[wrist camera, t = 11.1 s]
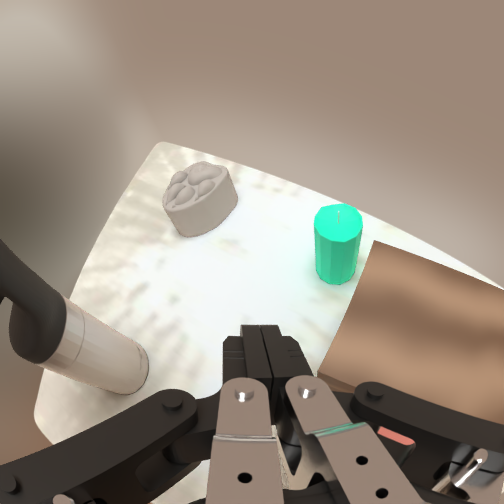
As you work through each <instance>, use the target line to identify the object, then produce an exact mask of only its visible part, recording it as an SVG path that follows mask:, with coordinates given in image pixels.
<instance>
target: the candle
mask: <svg viewBox="0 0 504 504" xmlns="http://www.w3.org/2000/svg"><path fill="white" fill-rule="evenodd" d="M362 228H363V222H362V216H361V215H360V213H359V212H358V211H357V209H356V208H354V207H352V206H350V205H347V204H345V203H344V204H335V205H329V206H325V207H321V209H320V210H319V211H318V213H317V214H316V216H315V220H314V234H315V254H316V271H317V273H318V275H319V277H320V278H321V279H322V280H324V281H325V282H327V283H329V284H342V283H344V282H346V281H348V280H350V278H351V277H352V275H353V274H354V272H355V268H356V262H357V257H358V252H359V246H360V240H361V234H362Z"/></svg>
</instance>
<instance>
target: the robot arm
mask: <svg viewBox="0 0 504 504" xmlns="http://www.w3.org/2000/svg"><path fill="white" fill-rule="evenodd" d="M4 297H7V298H9V299H10V300H11V301H12V302H13V306H12V311H11V316H10V323H9V336H10V342H11V345H12V347H13V349H14V351H15V352H16V353H17V354H18V355H19V356H20V357H22V358H24V359H26V360H28V361H30V362H32V363H34V364H36V365H39V366H41V367H43V368H46V369H48V370H50V371H53V372H56V373H58V374H61V375H63V376H66V377H69V378H71V379H74V380H77V381H80V382H83V383H86V384H89V385H92V386H95V387H98V388H102V389H105V390H108V391H112V392H115V393H119V394H125V395H127V394H132V393H134V392H136V391H137V390H138V389H139V388H140V387H141V386H142V385H143V383H144V381H145V379H146V377H147V373H148V359H147V355H146V353H145V351H144V349H143V348H142V347H141V346H140V345H139V344H138V343H136V342H134V341H133V340H131V339H129V338H127V337H126V336H124V335H122V334H121V333H119V332H117V331H116V330H114V329H112V328H111V327H109V326H107V325H106V324H104V323H103V322H101V321H99V320H98V319H96V318H95V317H93V316H92V315H90V314H89V313H87V312H86V311H84V310H83V309H81V308H80V307H78V306H77V305H75V304H74V303H72V302H71V301H69V300H68V299H67V298H65V297H64V296H63V295H61V294H60V293H59V292H57V291H56V290H55V289H53V288H52V287H51V286H50V285H48V284H47V283H46V282H45V281H44V280H43V279H42V278H40V277H39V276H38V275H37V274H36V273H35V272H34V271H32V270H31V269H30V268H29V267H28V266H27V265H25V264H24V263H23V262H22V261H21V260H20V259H19V258H18V257H17V256H16V255H15V254H14V253H13V252H12V251H11V250H10V249H9V248H8V247H7V245H6V244H5V243H4V242H3V241H2V240H1V239H0V304H1V302H2V300H3V299H4ZM271 425H276V429H277V433H276V438H275V437H272V430H271ZM380 427H384V428H386V429H388V430H391V431H393V432H395V433H398V434H400V435H403V436H405V437H408V438H410V439H412V440H413V441H414V443H413V444H411V445H405V444H402V443H399V442H397V441H395V440H392V439H390V438H387V437H385V436H383V435H381V434H378V431H379V429H380ZM278 451H279V454H280V457H281V460H282V463H283V466H284V469H285V472H286V475H287V478H288V482H289V490H288V489H282V481H281V472H280V464H279V455H278ZM208 459H210V468H209V477H208V486H207V495H206V498H203V499H199V500H197V501H194V502H191V503H189V504H498V503H499V499H500V495H501V491H502V487H503V482H504V425H503V424H499V423H496V422H492V421H488V420H485V419H481V418H478V417H475V416H471V415H468V414H465V413H462V412H459V411H455V410H452V409H449V408H446V407H443V406H441V405H438V404H435V403H432V402H429V401H426V400H424V399H421V398H418V397H416V396H413V395H410V394H408V393H405V392H402V391H400V390H397V389H395V388H392V387H390V386H387V385H385V384H382V383H379V382H373V381H369V382H363V383H361V384H359V385H358V386H357V387H356V388H355V390H354V393H346V392H336V391H331V390H330V388H329V387H328V385H327V384H326V383H325V382H324V381H323V380H321V379H319V378H317V377H314V375H313V373H312V371H311V369H310V367H309V365H308V363H307V360H306V358H305V357H304V354H303V352H302V351H301V348H300V346H299V343H298V342H297V341H296V340H294V339H293V338H292V337H291V336H282V335H281V332H280V330H279V327H278V325H260V326H259V325H241V328H240V336H228V337H227V338H226V339H225V341H224V342H223V385H222V388H221V389H220V390H219V391H218V392H217V393H216V394H214V395H212V396H210V397H206V398H201V399H196V400H195V398H194V397H193V396H192V395H191V394H189V393H188V392H185V391H183V390H178V389H166V390H162V391H159V392H157V393H155V394H153V395H152V396H150V397H148V398H146V399H145V400H143V401H141V402H139V403H137V404H136V405H134V406H132V407H130V408H128V409H126V410H124V411H123V412H121V413H119V414H117V415H115V416H113V417H111V418H109V419H107V420H105V421H103V422H101V423H99V424H97V425H95V426H93V427H91V428H89V429H87V430H85V431H83V432H81V433H79V434H77V435H75V436H72V437H70V438H68V439H66V440H64V441H61V442H59V443H57V444H55V445H52V446H50V447H48V448H46V449H43V450H41V451H38V452H35V453H33V454H31V455H28V456H25V457H23V458H20V459H17V460H15V461H12V462H9V463H6V464H3V465H1V466H0V504H148V503H150V502H151V501H153V500H154V499H155V498H157V497H158V496H160V495H161V494H163V493H164V492H165V491H167V490H168V489H169V488H171V487H172V486H173V485H175V484H176V483H177V482H179V481H180V480H181V479H183V478H184V477H185V476H186V475H188V474H189V473H190V472H191V471H193V470H194V469H195V468H196V467H197V466H199V465H200V463H201V461H203V460H208Z"/></svg>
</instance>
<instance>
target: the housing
mask: <svg viewBox="0 0 504 504" xmlns="http://www.w3.org/2000/svg"><path fill="white" fill-rule="evenodd" d="M317 378H319V379H321V380H323V381H324V382H325V383H326V384H327V385H328V387H329V388H330V390H331V391H336V392H346V393H354V390H355V388H356V387H357V386H358V385H359V384H361V383H363V382H369V381H373V382H379V383H382V384H385V385H387V386H390V387H392V388H395V389H397V390H400V391H402V392H405V393H408V394H410V395H413V396H416V397H418V398H421V399H424V400H426V401H429V402H432V403H435V404H438V405H441V406H443V407H446V408H449V409H452V410H455V411H459V412H462V413H465V414H468V415H471V416H475V417H478V418H481V419H485V420H488V421H492V422H496V423H499V424H503V425H504V290H502V289H500V288H498V287H495V286H493V285H491V284H488V283H486V282H484V281H481V280H479V279H476V278H474V277H472V276H469V275H467V274H464V273H462V272H459V271H457V270H454V269H452V268H449V267H447V266H444V265H442V264H439V263H436V262H434V261H431V260H428V259H426V258H423V257H420V256H418V255H415V254H412V253H409V252H407V251H404V250H401V249H398V248H395V247H393V246H390V245H387V244H384V243H381V242H378V241H375V240H374V242H373V245H372V248H371V251H370V253H369V256H368V259H367V262H366V264H365V267H364V270H363V272H362V275H361V277H360V280H359V282H358V285H357V287H356V290H355V292H354V295H353V297H352V300H351V302H350V304H349V307H348V309H347V311H346V313H345V316H344V318H343V320H342V322H341V325H340V327H339V329H338V331H337V333H336V335H335V337H334V340H333V342H332V344H331V346H330V348H329V350H328V352H327V354H326V356H325V358H324V360H323V362H322V364H321V366H320V368H319V369H318V373H317Z"/></svg>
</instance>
